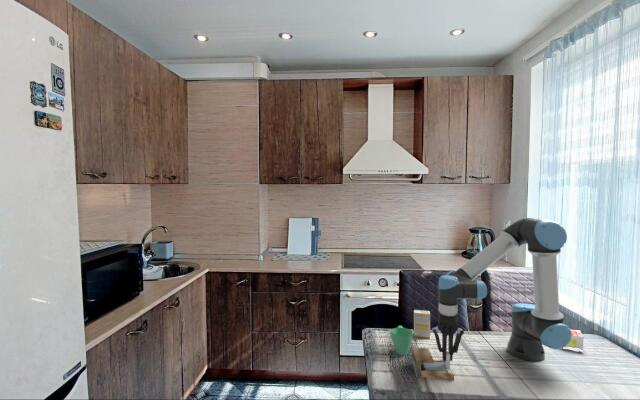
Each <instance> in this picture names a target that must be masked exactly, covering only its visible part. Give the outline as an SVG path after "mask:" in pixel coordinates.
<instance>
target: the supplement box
mask: <svg viewBox="0 0 640 400" xmlns="http://www.w3.org/2000/svg"><path fill="white" fill-rule="evenodd" d="M413 337H414V338H422V339H423V338H424V339H431V310H430V311H429V310H422V309H414V310H413Z"/></svg>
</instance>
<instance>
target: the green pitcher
mask: <svg viewBox="0 0 640 400" xmlns="http://www.w3.org/2000/svg"><path fill="white" fill-rule="evenodd" d="M413 337H414V331H412V330H411V329H409V328H406V327H403V326H402V325H398V326H397V327H395V328H392V329H391V338H392V341H393V345H394V348H395V351H396V353H397V354H398V355H400V356H406V355H408V353H409V350H410V348H411V344H412V340H413Z"/></svg>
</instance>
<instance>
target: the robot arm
mask: <svg viewBox="0 0 640 400" xmlns="http://www.w3.org/2000/svg"><path fill="white" fill-rule="evenodd" d="M499 235H500V236H498V237H496V239H494V240H493V241H492V242H490V244H488V245H487V246H485V247H484V248H483V249H482V250H480V252H478V253H476V254H475V256H473V257H471V259H469V260H468V261H467V262H465V263H464V264H463V265H462V266H460V268H458V269H457V270H455V271H454V270H451V271H447V273H445V274H444V275H441V276H440V277H438V287H437V288H438V320H437V321H438V322H437V325H436V326H435V327H432V328H431V331H432V333H434V338H435V342H436V345H437V347H436V348H437V349H438V352H440V353H442V356H441V357H442V358H441V359H443V360H444V361H445V366H446V368H447V370H448V371H449V370H451V362H453V355H454V354H457V353H458V350H459V348H460V343H461V340H462V336H463V335H464V334H465V330H463V329H462V328H460V327H459V324H458V312H459V311H458V304H459V303H458V302H459V301H458V300H480V299H481V300H482V299H485V298H486V297H487V295H488V288H487V285H486V283H485V282H484V281H483V280H477V279H476V278H477V277H479V276H480V275H481V274H483V273H484V272H485V271H487V270H488V269H489V268H490V267H491V266H493V265H494V264H495V263H497V262H498V261H499V260H500V259H502V258H503V257H504V256H506V254H508V253H509V252H510V251H512V250H513V249H518V248H519V247H521V246H522V245H525V244H526V245H527V252H529V253H530V254H531V255H532V256H531V257H532V276H533V293H534V294H533V295H534V297H533V298H534V304H532V303H523V302H521V303H515V304H513V305H512V306H511V334H510V336H509V339H508V341H507V344H506V349H507V352H508V353H509V354H510V355H512V356H514V357H516V358H519V359H521V360H525V361H530V362H531V361H532V362H541V361H543V360H545V357H546V352H545V350H544V347H543V346H545V347H547V348H549V349H552V350H561V349H562V348H563V347H565V346H566V345H567V344H568V343H569V342H570V340H571V337H572V333H571V330H570V329H571V328H570V327H569V326H568V325H566V324H565V317H564V314H563V313H562V312H561V311H560V303H559V299H560V298H559V285H558V284H559V283H558V281H559V280H558V264H557V255H559V254H560V253H561V252H562V251H561V248H563V247H564V246H565V245H564V244H566V243H567V241H568V239H567V238H568V235H567V232H566V229H565V227H564V226H563V225H561V223H559V222H558V221H554V220H550V219H546V218H545V219H543V218H534V217H525V218H520V219H519V220H517V221H515V222H513V223H511V224H510V225H509V226H507V227H505V228H504V229H503V230H502V231H501V232H500V234H499ZM475 279H476V280H475ZM439 332H440V333H441V337H442V338H441V340H442V342H441V340H440V336H439ZM455 334H456V335H455ZM454 335H455V337H454ZM447 338H448V341H447ZM454 338H455V340H454ZM447 343H448V345H447ZM447 347H448V348H447ZM447 349H448V351H447Z"/></svg>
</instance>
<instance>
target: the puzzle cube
mask: <svg viewBox="0 0 640 400" xmlns="http://www.w3.org/2000/svg"><path fill="white" fill-rule="evenodd" d="M570 330H571V333H572V337H571V340H570V342H569V343H568V344H567V345H566V346H565V347H572V348H579V349H581V350H583V351H584V340H585V337H584V335H583V333H582V331H581V330H579V329H572V328H570Z"/></svg>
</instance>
